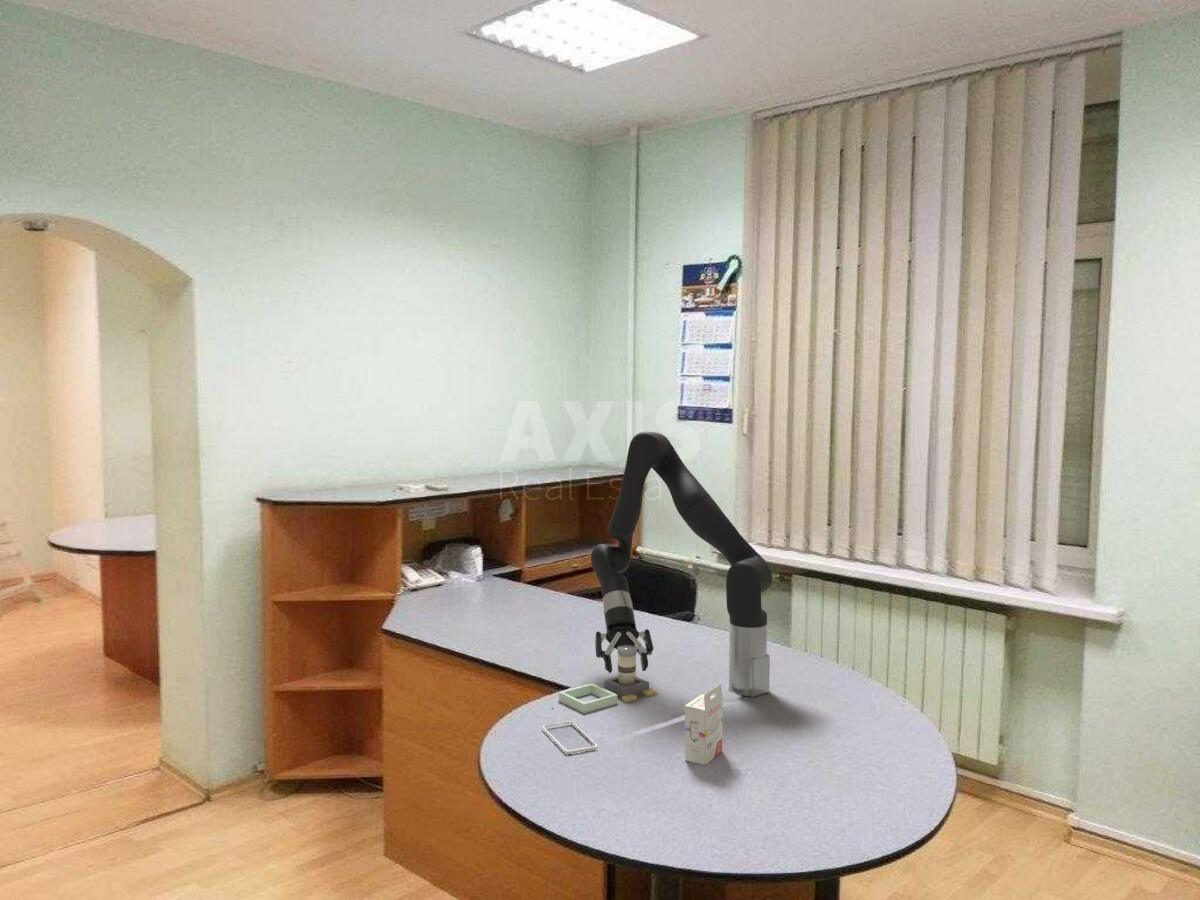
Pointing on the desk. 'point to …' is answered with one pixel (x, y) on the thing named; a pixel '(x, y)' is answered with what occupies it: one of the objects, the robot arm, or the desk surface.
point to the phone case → (575, 749)
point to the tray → (584, 707)
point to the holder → (629, 689)
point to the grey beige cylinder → (626, 665)
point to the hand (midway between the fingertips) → (627, 670)
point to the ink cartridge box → (704, 727)
